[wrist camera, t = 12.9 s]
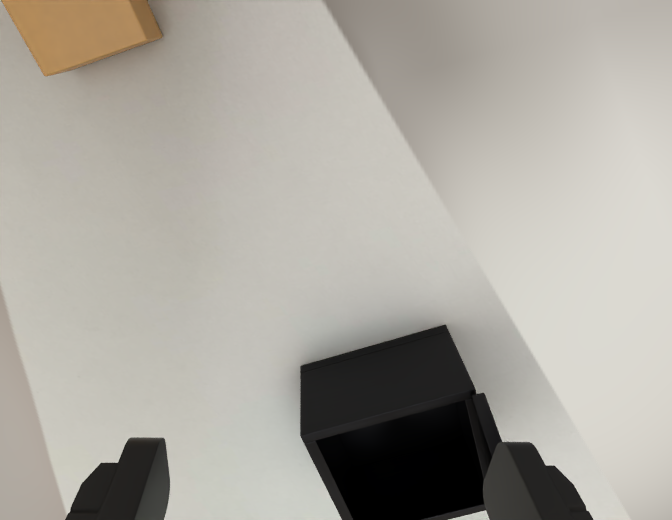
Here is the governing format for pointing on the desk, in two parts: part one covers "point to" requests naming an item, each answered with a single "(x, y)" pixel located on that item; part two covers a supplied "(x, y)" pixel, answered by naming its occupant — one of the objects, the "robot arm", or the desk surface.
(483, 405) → the box lid
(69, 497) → the desk surface
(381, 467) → the black hinged lid box
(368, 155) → the desk surface
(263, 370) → the desk surface
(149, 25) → the tan square block
